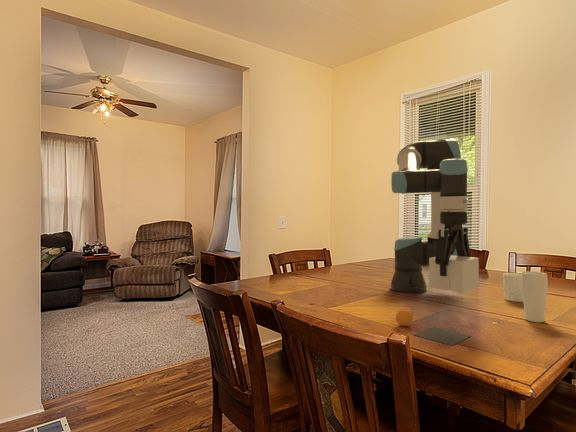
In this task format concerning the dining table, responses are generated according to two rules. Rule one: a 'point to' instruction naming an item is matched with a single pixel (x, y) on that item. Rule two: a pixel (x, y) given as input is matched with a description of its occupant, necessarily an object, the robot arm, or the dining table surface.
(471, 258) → the pale grey cube
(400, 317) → the ball
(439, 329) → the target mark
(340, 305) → the dining table surface
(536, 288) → the drinking glass
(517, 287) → the white cup
